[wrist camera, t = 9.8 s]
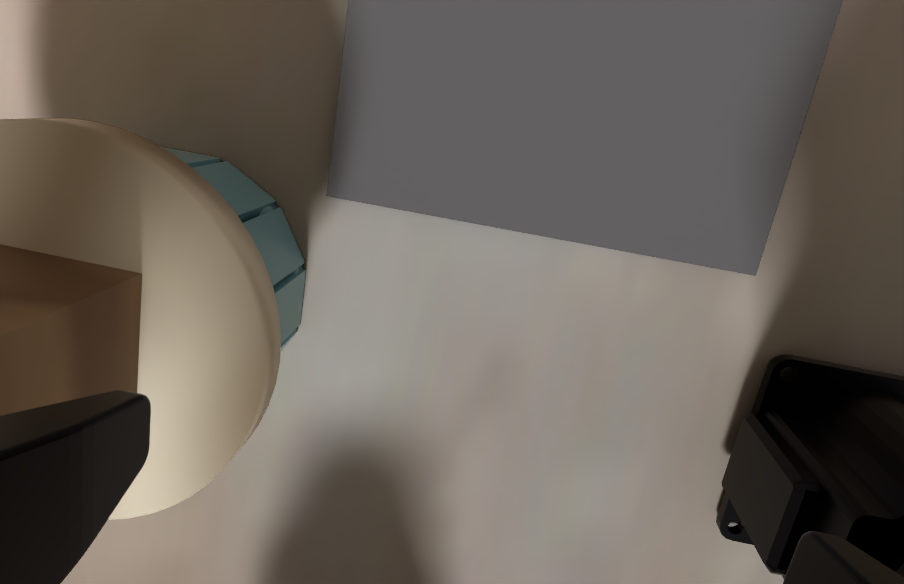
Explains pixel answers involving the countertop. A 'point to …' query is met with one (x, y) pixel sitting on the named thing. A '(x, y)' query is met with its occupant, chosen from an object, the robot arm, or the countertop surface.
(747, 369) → the countertop surface
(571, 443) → the countertop surface
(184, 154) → the ceramic bowl
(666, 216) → the rubber mat
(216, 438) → the wooden lid
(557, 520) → the countertop surface
